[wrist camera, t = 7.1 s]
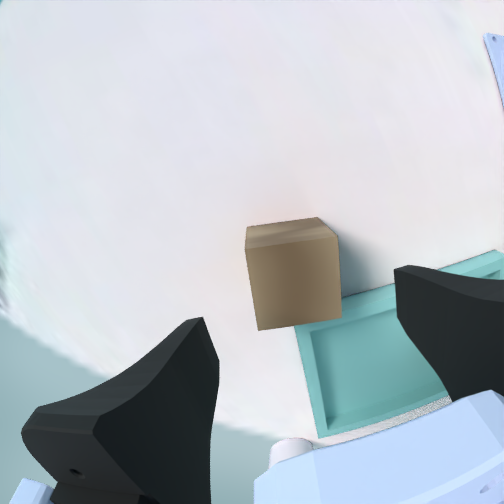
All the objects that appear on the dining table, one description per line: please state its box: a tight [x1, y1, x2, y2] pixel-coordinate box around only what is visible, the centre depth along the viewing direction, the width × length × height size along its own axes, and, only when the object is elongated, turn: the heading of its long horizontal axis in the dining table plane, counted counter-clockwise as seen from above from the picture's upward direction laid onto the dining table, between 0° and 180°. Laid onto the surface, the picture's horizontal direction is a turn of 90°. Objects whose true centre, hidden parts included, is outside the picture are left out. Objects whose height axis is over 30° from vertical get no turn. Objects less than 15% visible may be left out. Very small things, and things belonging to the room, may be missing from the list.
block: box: [245, 217, 342, 331], centre depth 16 cm, size 4×4×4 cm
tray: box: [294, 250, 504, 439], centre depth 19 cm, size 16×11×2 cm
